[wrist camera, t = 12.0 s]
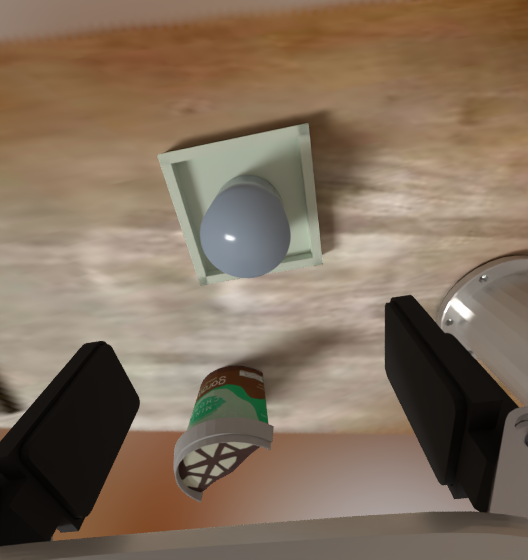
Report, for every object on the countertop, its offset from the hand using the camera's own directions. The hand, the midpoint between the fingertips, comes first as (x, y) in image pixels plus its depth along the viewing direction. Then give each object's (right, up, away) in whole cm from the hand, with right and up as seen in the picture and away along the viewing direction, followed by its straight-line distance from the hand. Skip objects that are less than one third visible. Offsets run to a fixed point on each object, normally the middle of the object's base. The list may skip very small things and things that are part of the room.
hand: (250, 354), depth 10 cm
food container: (-5, -10, +26) cm, 29 cm away
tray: (-1, +9, +16) cm, 18 cm away
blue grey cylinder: (-1, +9, +16) cm, 18 cm away
